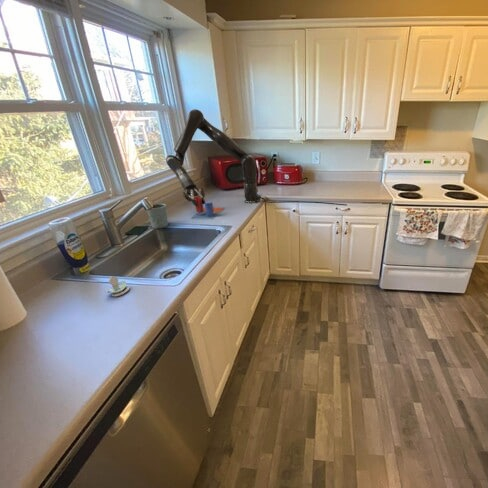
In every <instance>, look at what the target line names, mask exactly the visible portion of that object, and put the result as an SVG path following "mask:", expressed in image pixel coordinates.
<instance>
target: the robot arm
mask: <svg viewBox="0 0 488 488" xmlns="http://www.w3.org/2000/svg"><path fill="white" fill-rule="evenodd" d="M197 130H200V131H201V132H203V133H204V134H205V135H206V136H207V137H208V138H209V139H210V140H211V142H213V143H214V144H215V145H216V146H218V147H219V148H220V149H222V150H223V151H224V152H226V153H227V154H229V155H230V156H232V157H234V158H235V159H236V160H237V161H238V162H239V163H240V164H241V166H242V179H243V192H244V202H245V203H247V204H254V203H257V202H259V201H260V200H263V201H264V202H265V203H268V204H269V203H270V204H273V203H274V204H284V203H285V204H286V203H288V204H290V203H292V204H294V203H301V204H302V203H304V204H305V203H306V204H307V203H308V204H325V205H336V206H348V204H346V203H335V202H324V201H305V200H303V201H301V200H300V201H297V200H295V201H294V200H293V201H292V200H291V201H288V200H287V201H286V200H283V201H275V200H274V201H268V200H266V199H265V198H264V197H262V196H261V194H259V190H258V189H259V188H258V186H257V165H256V163H257V162H256V160H255V158H254V157H253V156H252V155H250V154H249V153H248V152H245V151H244V150H243V149H242V148H241V147H240V146H239V145H238V144H237V143H236V142H235V141H234V140H233V139H232V138H231V137H230V136H228V135H227V134H226V133H225V132H224V131H222V130H221V129H219V128H217V127H216V126H214V125H213V124H212V123H210V121H208V120H207V119H206V118H205V116H204V113H203V112H202V111H201V110H199V109H192V110H190V111H189V112H188V114H187V121H186V124H185V126H184V129H183V130H182V132H181V134H180V136H179V137H178V140H177V141H176V144H175V145H174V147H173V151H174V152H175V155H173V154H167V156H166V158H165V163H166V165H167V167H168V168H169V169H170V170H171V171H172V172H173V173H174V175H175V176H176V178H177V180H178V181H179V184H180V185H181V187H182V189H183V190H184V191H183V192H182V197H184V198H185V200H187V202H191V203H192V204H193V205H194V206H197V205H198V204H197V202H196V201H195V200H194V198H195V197H202V203H203V205H205V202H206V200H205V197H206V194H205V192H204V188H202V187H201V188H198V187H197V184H196V183H195V182H194V179H193V178H192V177H191V176H190V174H189V173H188V171H187V170H186V168H185V167H183V165H184V161H185V156H186V153H187V151H188V149H189V147H190V145H191V143H192V140H193V137H194V136H195V134H196V132H197Z"/></svg>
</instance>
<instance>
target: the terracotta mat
mask: <svg viewBox="0 0 488 488" xmlns="http://www.w3.org/2000/svg"><path fill="white" fill-rule="evenodd" d="M203 209H204V212H206V209H205V207H203ZM224 209H225V207H217V206H216V207H215V206H213V211H214V213H220V212H221V211H222V210H224Z"/></svg>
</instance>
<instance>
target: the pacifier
mask: <svg viewBox="0 0 488 488" xmlns="http://www.w3.org/2000/svg"><path fill="white" fill-rule="evenodd" d="M108 283H109V284H110V286H111V287H112V288H111V289H107V290H105V291H104V292H105V293H107V294H111V296H112V297H119V296H122V295H124V294H125V293H127V292H128V291H129V290H130V289H131V288H130V286H129V285H127V281H125V280H121V281H119V279H118V277H116V276H114V275H113V276H111V277H109V279H108Z"/></svg>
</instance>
